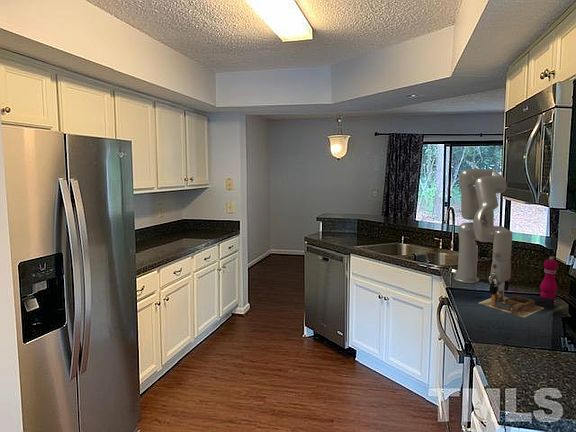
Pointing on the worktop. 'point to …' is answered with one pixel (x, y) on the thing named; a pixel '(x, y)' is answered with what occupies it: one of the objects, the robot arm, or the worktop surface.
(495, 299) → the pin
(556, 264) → the pepper mill
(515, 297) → the dock
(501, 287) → the peg
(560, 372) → the worktop surface
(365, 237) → the worktop surface
